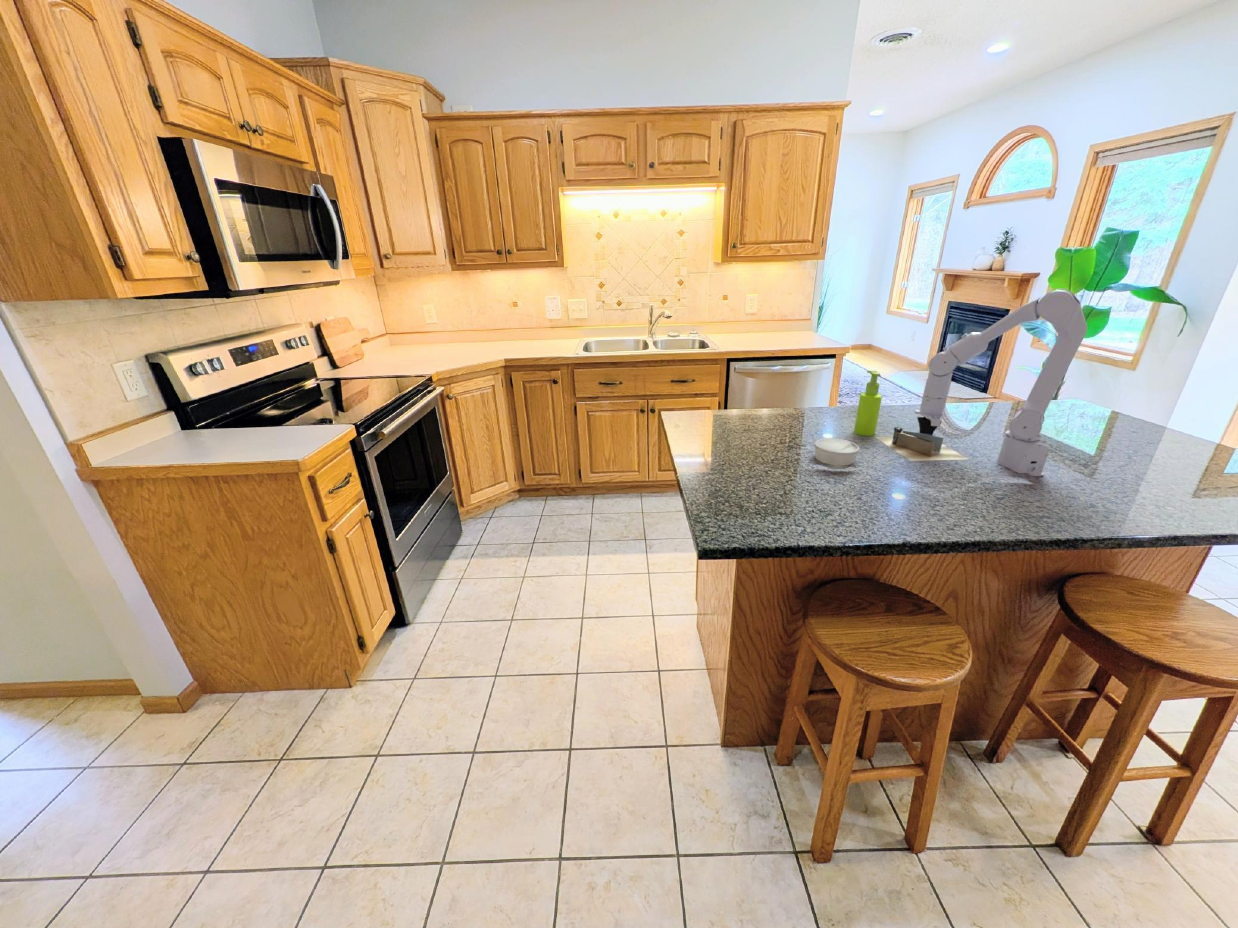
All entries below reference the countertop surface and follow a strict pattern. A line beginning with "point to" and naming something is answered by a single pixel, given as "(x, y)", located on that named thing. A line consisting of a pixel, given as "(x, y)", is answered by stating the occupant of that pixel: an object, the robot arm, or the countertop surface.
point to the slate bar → (927, 438)
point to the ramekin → (835, 452)
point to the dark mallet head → (912, 443)
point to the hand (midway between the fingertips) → (923, 442)
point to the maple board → (913, 456)
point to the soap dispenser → (868, 407)
